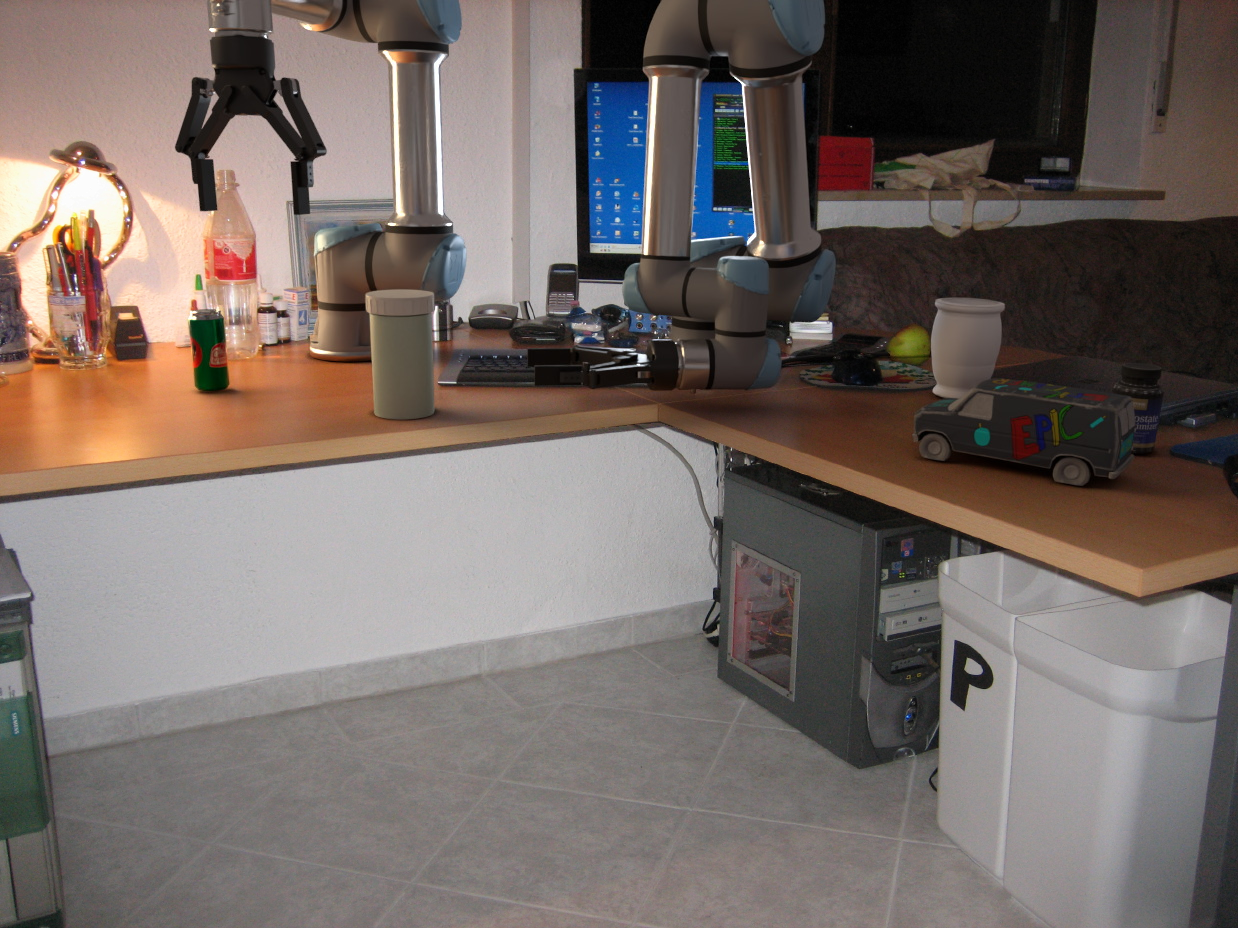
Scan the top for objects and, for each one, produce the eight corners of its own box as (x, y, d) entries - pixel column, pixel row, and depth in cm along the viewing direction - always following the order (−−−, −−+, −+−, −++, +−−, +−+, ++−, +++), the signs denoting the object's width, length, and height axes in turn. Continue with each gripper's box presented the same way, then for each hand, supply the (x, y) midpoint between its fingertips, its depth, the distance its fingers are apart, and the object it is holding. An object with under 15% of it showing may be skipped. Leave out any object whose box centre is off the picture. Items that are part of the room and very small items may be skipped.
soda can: (218, 393, 162) (211, 314, 158) (188, 391, 163) (180, 312, 159) (236, 386, 166) (230, 309, 163) (207, 384, 167) (200, 308, 164)
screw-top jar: (429, 420, 149) (425, 301, 144) (368, 419, 149) (362, 300, 144) (439, 406, 157) (435, 293, 152) (381, 405, 157) (376, 292, 152)
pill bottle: (1117, 454, 138) (1130, 370, 135) (1094, 442, 144) (1106, 361, 140) (1163, 454, 138) (1177, 370, 135) (1139, 442, 144) (1152, 361, 141)
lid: (428, 316, 144) (428, 298, 144) (358, 315, 144) (358, 297, 144) (439, 306, 153) (439, 290, 153) (374, 305, 153) (373, 288, 153)
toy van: (935, 438, 144) (942, 365, 141) (1133, 472, 130) (1146, 392, 127) (905, 455, 135) (913, 378, 133) (1114, 493, 122) (1127, 408, 119)
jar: (912, 390, 173) (921, 298, 169) (962, 386, 177) (972, 295, 173) (956, 405, 163) (966, 307, 159) (1008, 400, 167) (1020, 304, 163)
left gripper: (134, 34, 132) (152, 210, 137) (316, 32, 126) (327, 217, 132) (173, 40, 138) (188, 208, 144) (348, 39, 133) (356, 214, 139)
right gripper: (692, 409, 146) (537, 411, 143) (658, 373, 170) (524, 374, 167) (694, 355, 144) (537, 356, 141) (659, 326, 168) (524, 326, 165)
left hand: (254, 213), depth 138 cm, fingers open, 13 cm apart
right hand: (530, 366), depth 154 cm, fingers open, 13 cm apart
